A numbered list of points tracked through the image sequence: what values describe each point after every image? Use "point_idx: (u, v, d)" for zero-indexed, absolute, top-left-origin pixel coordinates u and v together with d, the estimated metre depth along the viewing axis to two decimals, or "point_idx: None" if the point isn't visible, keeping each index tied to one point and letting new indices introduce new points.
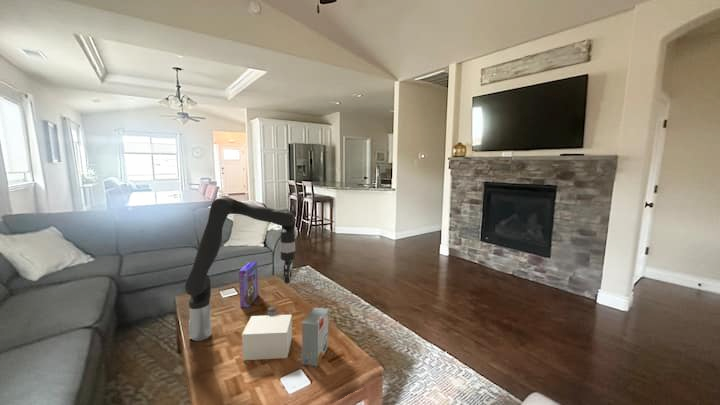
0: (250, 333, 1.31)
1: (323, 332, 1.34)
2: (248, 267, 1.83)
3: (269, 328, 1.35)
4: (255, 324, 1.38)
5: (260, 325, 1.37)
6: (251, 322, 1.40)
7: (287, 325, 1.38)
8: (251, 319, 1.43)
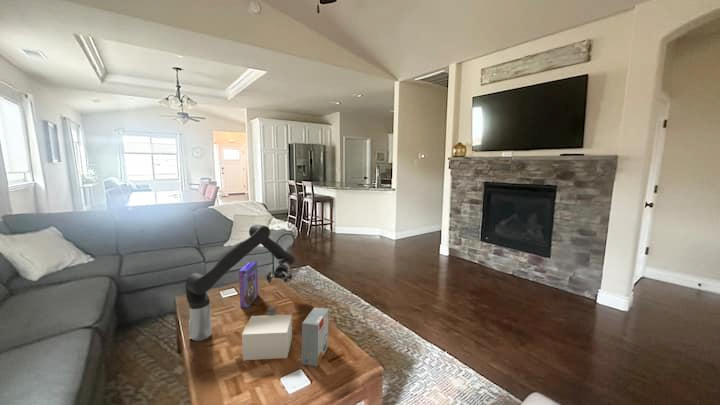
0: (250, 333, 1.31)
1: (323, 332, 1.34)
2: (248, 267, 1.83)
3: (269, 328, 1.35)
4: (255, 324, 1.38)
5: (260, 325, 1.37)
6: (251, 322, 1.40)
7: (287, 325, 1.38)
8: (251, 319, 1.43)
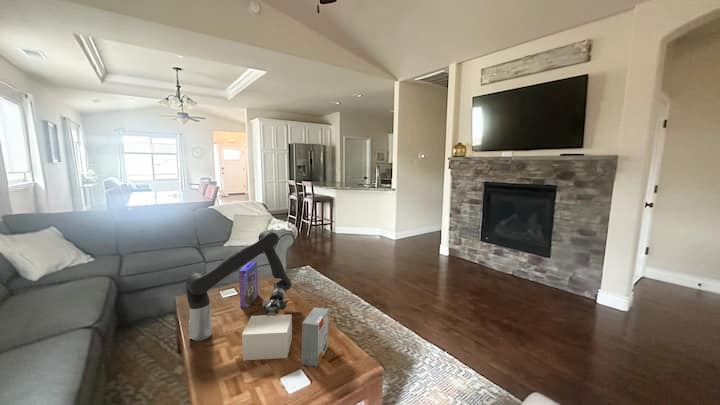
0: (250, 333, 1.31)
1: (323, 332, 1.34)
2: (248, 267, 1.83)
3: (269, 328, 1.35)
4: (255, 324, 1.38)
5: (260, 325, 1.37)
6: (251, 322, 1.40)
7: (287, 325, 1.38)
8: (251, 319, 1.43)
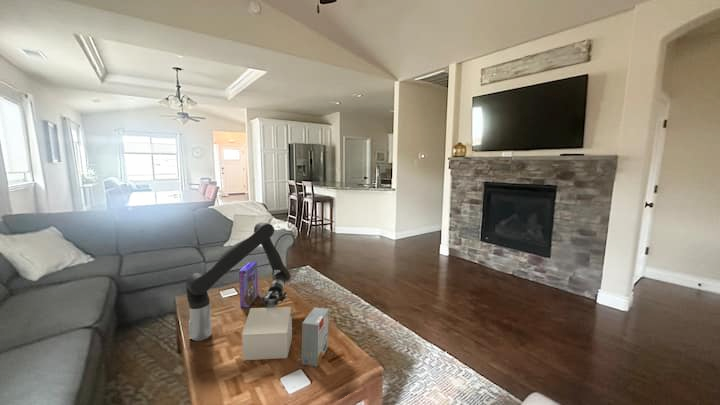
0: (250, 333, 1.31)
1: (323, 332, 1.34)
2: (248, 267, 1.83)
3: (269, 326, 1.34)
4: (255, 320, 1.37)
5: (260, 322, 1.37)
6: (251, 317, 1.39)
7: (287, 322, 1.37)
8: (250, 313, 1.41)
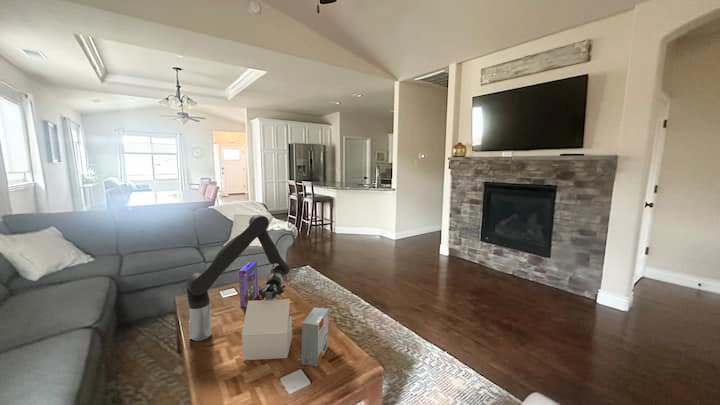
0: (250, 333, 1.30)
1: (323, 332, 1.34)
2: (248, 267, 1.83)
3: (268, 325, 1.33)
4: (253, 317, 1.35)
5: (259, 319, 1.35)
6: (249, 313, 1.36)
7: (286, 320, 1.35)
8: (248, 307, 1.38)
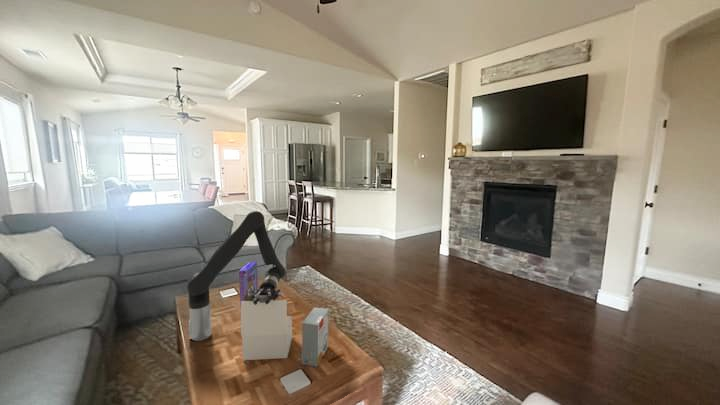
0: (249, 335, 1.30)
1: (323, 332, 1.34)
2: (248, 267, 1.83)
3: (267, 327, 1.30)
4: (250, 319, 1.29)
5: (256, 321, 1.30)
6: (245, 315, 1.29)
7: (285, 322, 1.31)
8: (243, 309, 1.29)
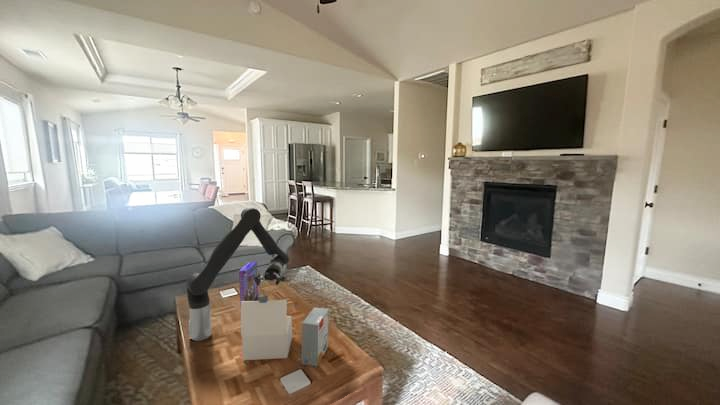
0: (249, 335, 1.30)
1: (323, 332, 1.34)
2: (248, 267, 1.83)
3: (267, 327, 1.30)
4: (250, 319, 1.29)
5: (256, 321, 1.30)
6: (245, 315, 1.29)
7: (285, 322, 1.31)
8: (242, 309, 1.29)
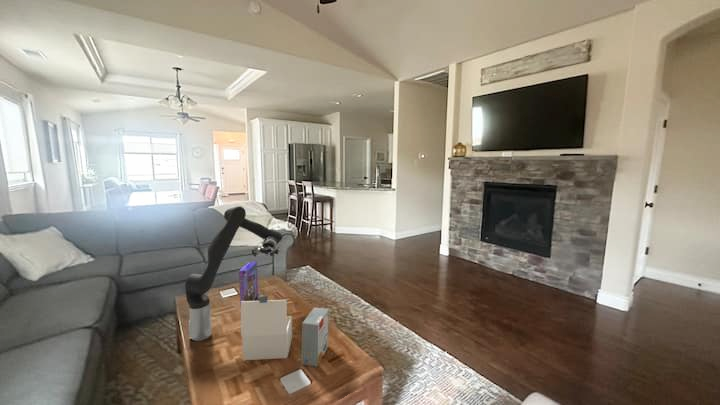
0: (249, 335, 1.30)
1: (323, 332, 1.34)
2: (248, 267, 1.83)
3: (267, 327, 1.30)
4: (250, 319, 1.29)
5: (256, 321, 1.30)
6: (245, 315, 1.29)
7: (285, 322, 1.31)
8: (242, 309, 1.29)
